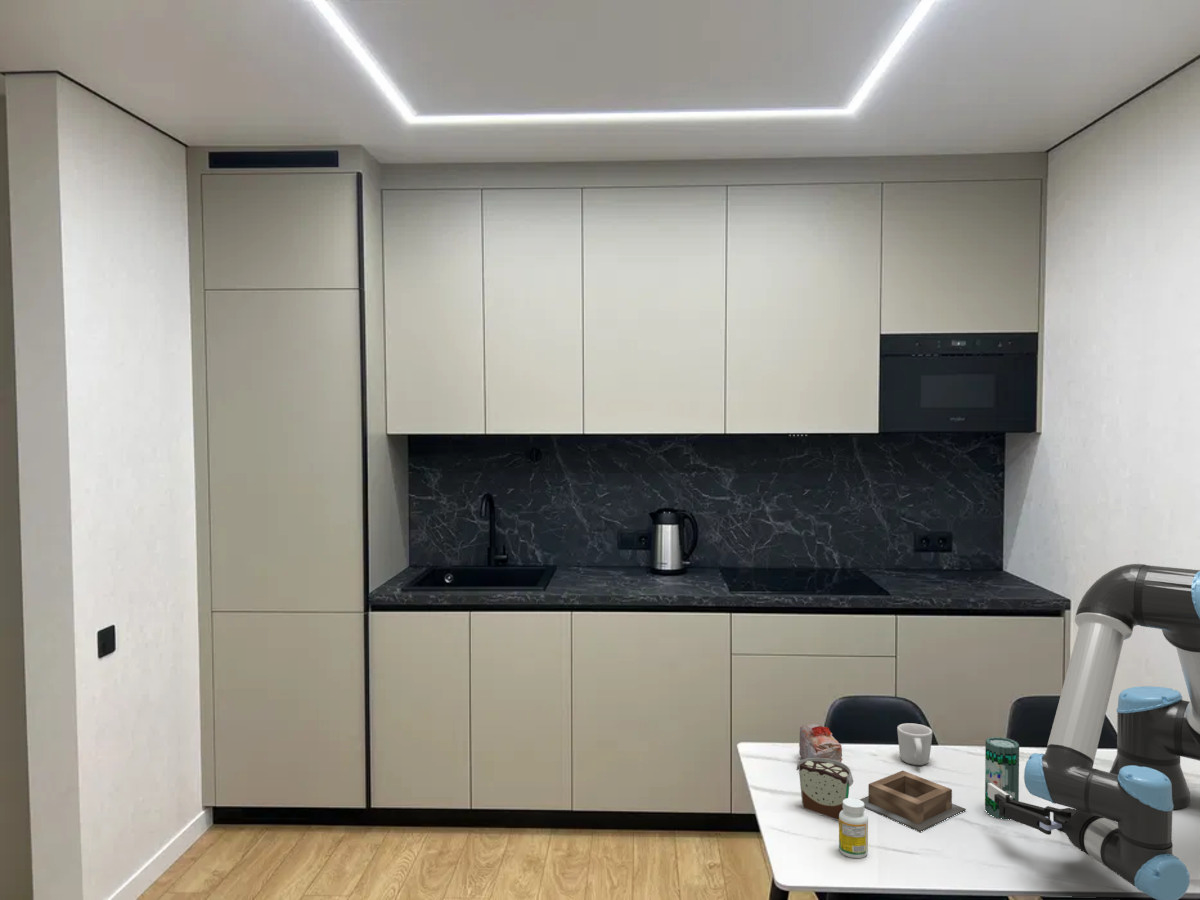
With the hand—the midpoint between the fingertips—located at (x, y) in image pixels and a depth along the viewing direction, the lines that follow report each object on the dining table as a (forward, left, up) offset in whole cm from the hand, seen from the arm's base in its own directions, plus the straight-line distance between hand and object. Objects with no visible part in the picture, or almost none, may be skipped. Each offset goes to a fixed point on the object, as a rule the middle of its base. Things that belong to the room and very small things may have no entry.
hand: (1019, 786), depth 171 cm
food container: (+27, +25, -9) cm, 38 cm away
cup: (+31, -11, -9) cm, 35 cm away
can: (+5, -3, -9) cm, 11 cm away
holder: (+18, +10, -8) cm, 23 cm away
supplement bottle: (+13, +35, -9) cm, 38 cm away
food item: (+44, +9, -9) cm, 45 cm away
